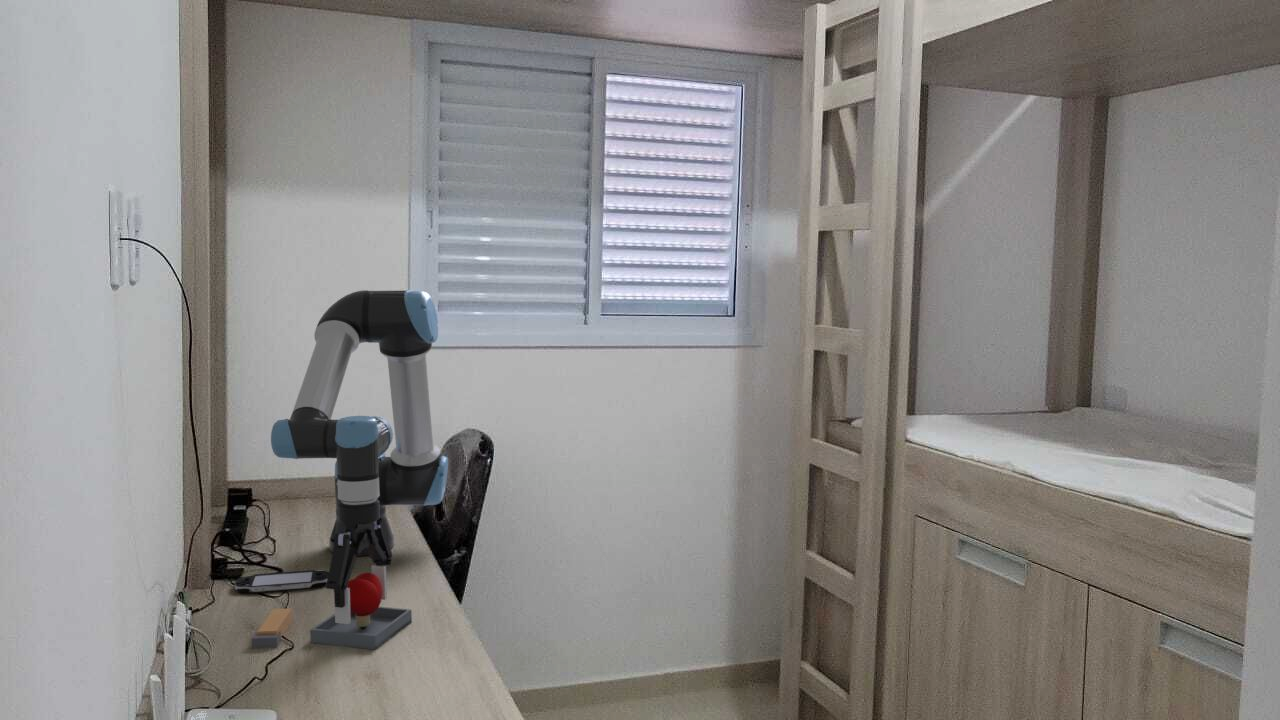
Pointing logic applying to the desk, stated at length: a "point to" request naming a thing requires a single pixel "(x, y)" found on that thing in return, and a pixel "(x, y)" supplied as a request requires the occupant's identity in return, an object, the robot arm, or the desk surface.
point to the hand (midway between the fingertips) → (361, 610)
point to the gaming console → (281, 581)
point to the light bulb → (364, 597)
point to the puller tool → (272, 629)
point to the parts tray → (371, 637)
